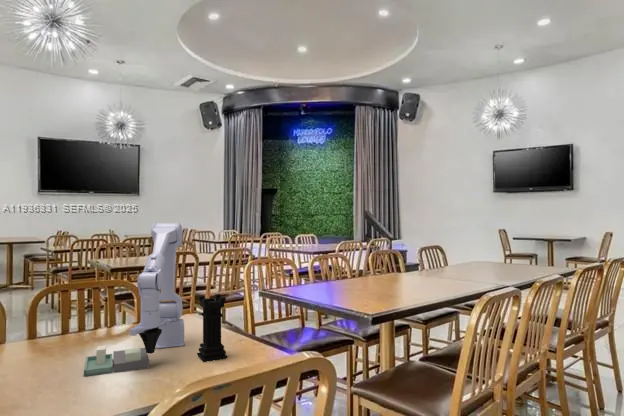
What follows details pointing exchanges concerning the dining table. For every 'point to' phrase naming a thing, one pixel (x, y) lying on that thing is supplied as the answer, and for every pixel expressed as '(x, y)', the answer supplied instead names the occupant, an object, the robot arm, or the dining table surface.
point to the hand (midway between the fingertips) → (150, 352)
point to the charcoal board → (132, 365)
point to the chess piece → (212, 329)
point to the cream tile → (101, 355)
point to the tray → (98, 366)
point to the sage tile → (132, 354)
